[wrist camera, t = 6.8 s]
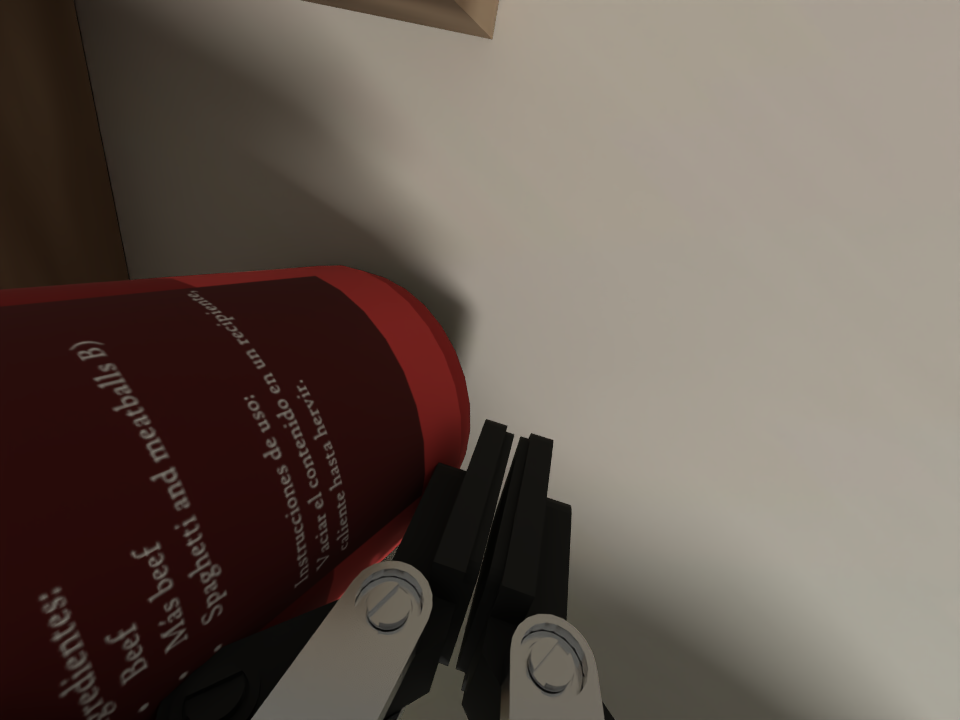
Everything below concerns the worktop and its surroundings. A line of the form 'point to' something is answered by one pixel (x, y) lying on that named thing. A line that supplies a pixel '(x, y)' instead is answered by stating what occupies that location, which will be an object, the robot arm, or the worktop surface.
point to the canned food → (201, 468)
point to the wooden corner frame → (96, 138)
